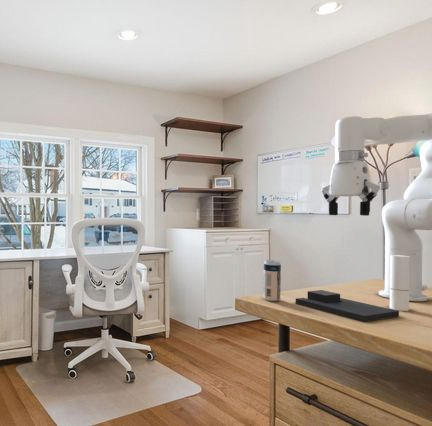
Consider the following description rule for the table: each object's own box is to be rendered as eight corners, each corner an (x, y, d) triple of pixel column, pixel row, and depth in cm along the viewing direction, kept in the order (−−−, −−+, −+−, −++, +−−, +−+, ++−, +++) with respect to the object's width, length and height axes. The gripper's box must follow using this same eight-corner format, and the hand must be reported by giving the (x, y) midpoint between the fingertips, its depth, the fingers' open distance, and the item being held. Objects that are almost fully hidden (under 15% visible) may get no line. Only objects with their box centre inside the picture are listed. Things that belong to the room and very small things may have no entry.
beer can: (283, 302, 113) (283, 261, 113) (267, 301, 113) (267, 261, 113) (276, 298, 118) (276, 259, 118) (260, 298, 118) (261, 259, 118)
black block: (321, 301, 114) (321, 289, 114) (340, 306, 109) (340, 293, 109) (307, 303, 112) (307, 291, 112) (325, 307, 106) (326, 295, 106)
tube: (412, 311, 104) (412, 256, 104) (394, 310, 105) (395, 256, 105) (403, 307, 108) (404, 255, 108) (386, 306, 109) (387, 254, 109)
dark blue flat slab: (328, 299, 117) (328, 295, 117) (399, 316, 98) (399, 310, 98) (295, 303, 111) (295, 298, 111) (364, 322, 93) (364, 315, 93)
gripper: (387, 155, 108) (386, 215, 108) (331, 162, 124) (330, 215, 124) (370, 153, 105) (369, 215, 105) (315, 161, 121) (314, 214, 121)
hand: (348, 215), depth 114 cm, fingers open, 9 cm apart
